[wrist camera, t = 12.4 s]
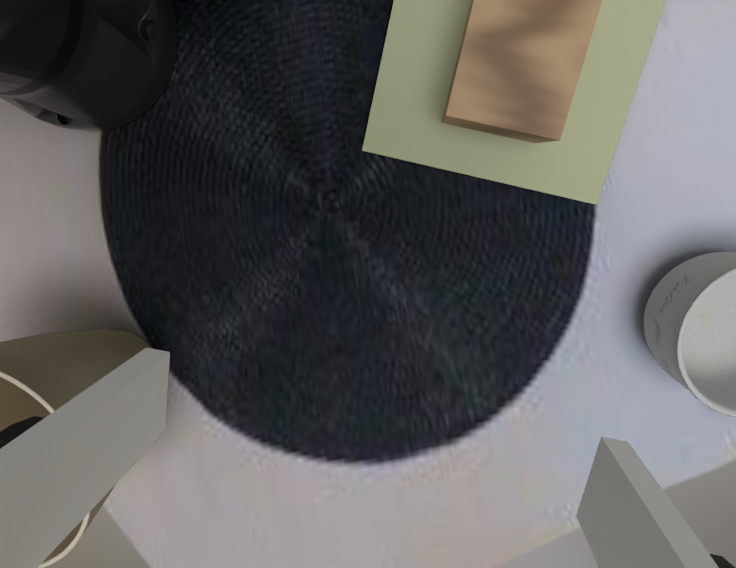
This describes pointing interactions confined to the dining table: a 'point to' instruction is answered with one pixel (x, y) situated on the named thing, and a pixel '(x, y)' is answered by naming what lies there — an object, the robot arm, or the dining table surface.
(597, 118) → the olive mat
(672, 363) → the teacup
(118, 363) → the plant pot
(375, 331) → the dining table surface
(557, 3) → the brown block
